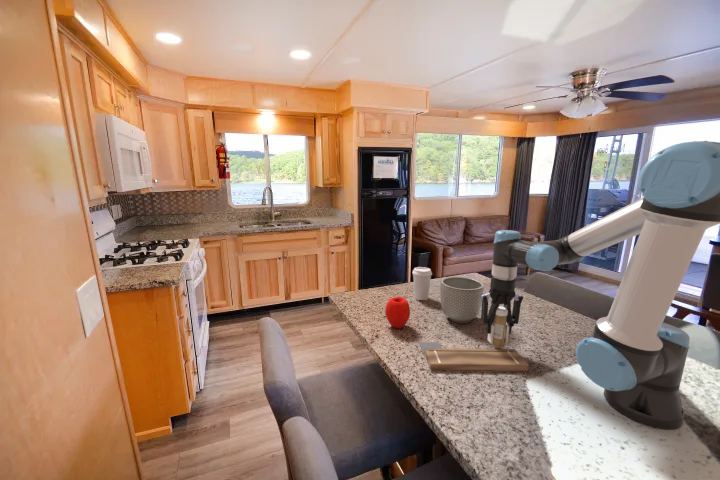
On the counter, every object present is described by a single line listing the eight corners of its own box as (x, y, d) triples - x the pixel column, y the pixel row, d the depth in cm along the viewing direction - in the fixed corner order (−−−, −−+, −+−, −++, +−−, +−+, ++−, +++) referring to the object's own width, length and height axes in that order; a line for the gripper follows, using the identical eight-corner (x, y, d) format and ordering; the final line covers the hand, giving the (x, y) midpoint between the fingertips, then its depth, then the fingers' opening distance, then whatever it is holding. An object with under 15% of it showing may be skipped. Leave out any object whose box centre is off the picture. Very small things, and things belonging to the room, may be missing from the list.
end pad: (443, 353, 103) (443, 353, 103) (423, 353, 103) (423, 352, 103) (438, 343, 110) (438, 342, 110) (419, 342, 110) (419, 342, 110)
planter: (430, 318, 130) (432, 282, 127) (452, 307, 142) (454, 273, 139) (467, 332, 118) (470, 293, 115) (489, 319, 129) (492, 283, 126)
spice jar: (507, 345, 106) (510, 309, 103) (499, 349, 103) (502, 312, 101) (495, 340, 109) (498, 304, 107) (487, 343, 107) (490, 307, 104)
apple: (391, 318, 130) (392, 291, 127) (413, 324, 125) (414, 295, 122) (380, 328, 121) (381, 299, 119) (403, 334, 116) (404, 304, 114)
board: (528, 370, 94) (528, 364, 94) (430, 369, 94) (430, 363, 94) (514, 354, 103) (514, 348, 103) (424, 353, 103) (424, 348, 103)
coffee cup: (433, 297, 154) (435, 268, 151) (427, 303, 146) (428, 273, 143) (415, 293, 159) (416, 265, 156) (408, 299, 151) (409, 270, 148)
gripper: (524, 273, 105) (517, 336, 110) (473, 273, 105) (468, 336, 110) (536, 280, 98) (528, 347, 102) (481, 280, 98) (475, 347, 102)
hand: (497, 341), depth 106 cm, fingers closed on spice jar, 4 cm apart
